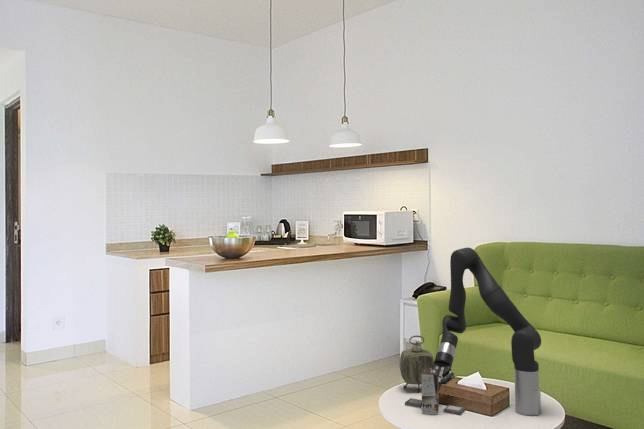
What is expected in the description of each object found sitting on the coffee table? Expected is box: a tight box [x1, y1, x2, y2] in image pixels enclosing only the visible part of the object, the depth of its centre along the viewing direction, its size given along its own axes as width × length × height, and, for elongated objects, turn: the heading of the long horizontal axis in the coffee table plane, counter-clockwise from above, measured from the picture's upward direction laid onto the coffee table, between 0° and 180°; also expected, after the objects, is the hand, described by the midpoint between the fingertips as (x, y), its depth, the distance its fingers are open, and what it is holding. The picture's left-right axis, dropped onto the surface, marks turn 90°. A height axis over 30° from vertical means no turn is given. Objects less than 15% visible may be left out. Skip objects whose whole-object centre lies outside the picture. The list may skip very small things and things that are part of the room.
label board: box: [404, 397, 466, 416], centre depth 230 cm, size 24×6×1 cm, turn 57°
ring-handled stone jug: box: [399, 335, 435, 393], centre depth 253 cm, size 14×9×25 cm, turn 94°
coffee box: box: [421, 369, 440, 415], centre depth 227 cm, size 9×6×16 cm
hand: (435, 391), depth 231 cm, fingers closed
